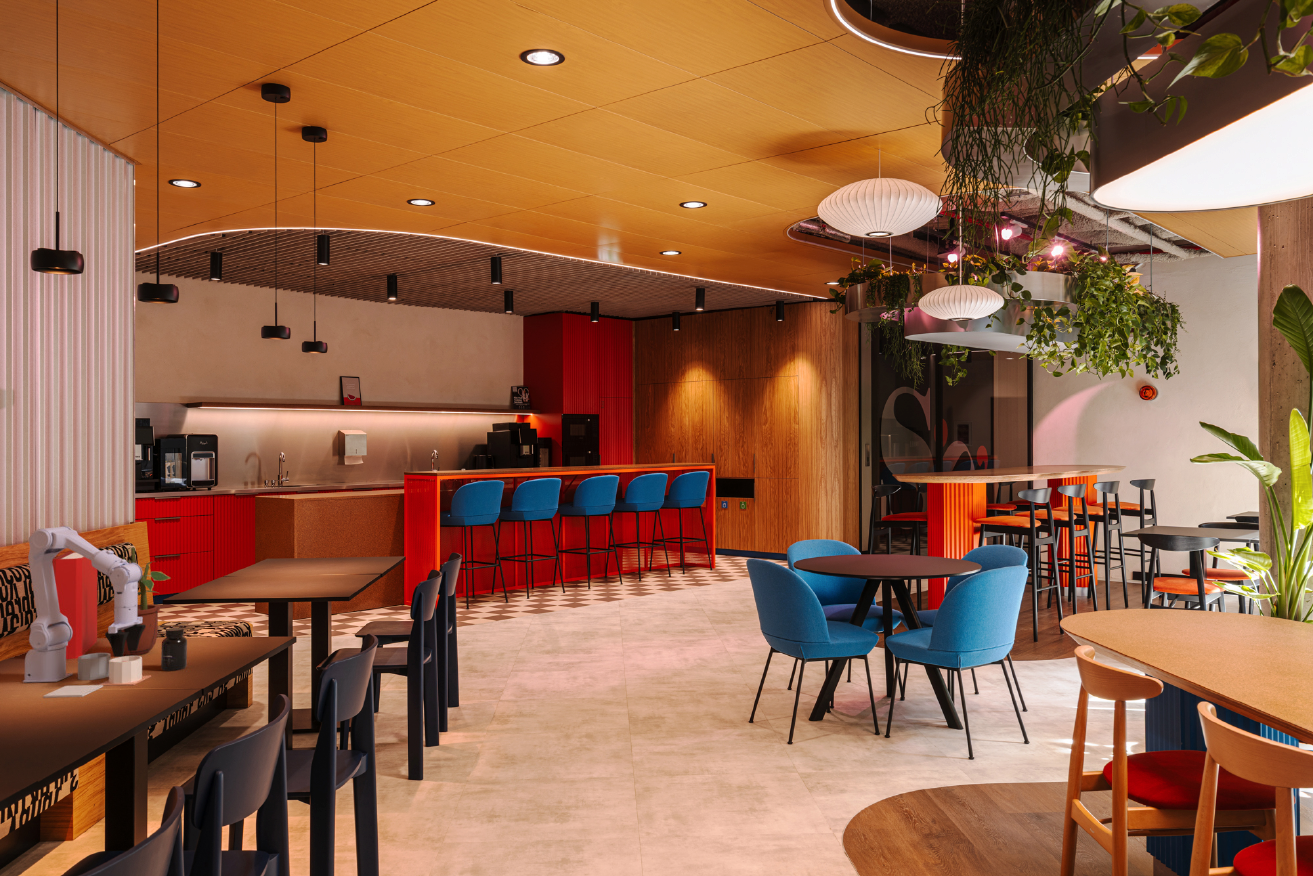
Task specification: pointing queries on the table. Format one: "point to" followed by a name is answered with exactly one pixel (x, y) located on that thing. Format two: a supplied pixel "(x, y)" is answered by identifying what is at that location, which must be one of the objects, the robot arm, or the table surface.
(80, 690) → the ball mat
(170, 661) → the supplement bottle
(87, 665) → the grey faceted cup
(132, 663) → the tube
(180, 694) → the table surface
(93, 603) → the book
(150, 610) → the potted plant
